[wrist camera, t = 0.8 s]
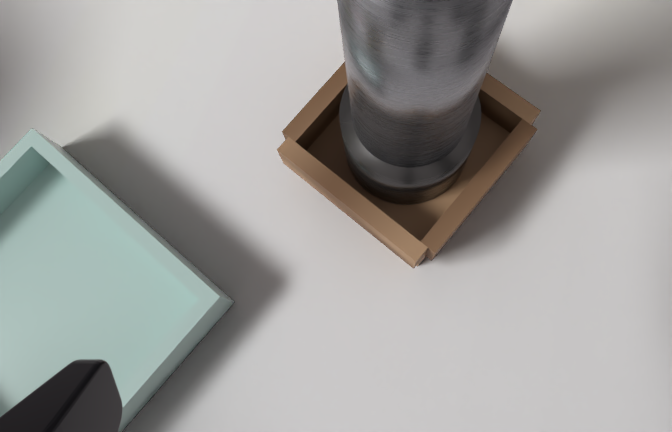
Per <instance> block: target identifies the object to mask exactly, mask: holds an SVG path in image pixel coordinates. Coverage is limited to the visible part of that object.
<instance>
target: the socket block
mask: <svg viewBox="0 0 672 432" xmlns="http://www.w3.org/2000/svg"><path fill="white" fill-rule="evenodd" d="M347 84H348V82H347V74H346V66H345V62H344V63H343V64H342V65H341V67H340V68H339V69H338V70H337V71H336V72H335V73H334V74H333V75H332V77H331V78H330V79H329V80H328V81H327V82H326V83H325V84H324V85H323V87H322V88H321V89H320V90H319V91H318V92H317V93H316V94H315V95H314V97H313V98H312V99H311V100H310V101H309V102H308V103H307V104H306V105H305V107H304V108H303V109H302V110H301V111H300V112H299V113H298V114H297V116H296V117H295V118H294V119H293V120H292V121H291V122H290V123H289V124H288V126H287V127H286V128H285V129H284V130H283V131H282V132H283V135H284V137H285V139H286V140H285V141H284V142H283V144H282V145H281V146H280V147H279V148H278V149H277V151H278V153H279V155H280V157H281V159H282V161H283V163H284V164H285V165H286V166H288V167H289V168H290V169H291V170H293V171H294V172H295V173H296V174H297V175H299V176H300V177H301V178H302V179H304V180H305V181H306V182H307V183H309V184H310V185H311V186H312V187H313V188H315V189H316V190H317V191H318V192H320V193H321V194H322V195H323V196H325V197H326V198H327V199H328V200H330V201H331V202H332V203H333V204H334V205H336V206H337V207H338V208H339V209H341V210H342V211H343V212H344V213H346V214H347V215H348V216H349V217H351V218H352V219H353V220H354V221H355V222H357V223H358V224H359V225H360V226H362V227H363V228H364V229H365V230H367V231H368V232H369V233H370V234H372V235H373V236H374V237H375V238H376V239H378V240H379V241H380V242H381V243H383V244H384V245H385V246H386V247H388V248H389V249H390V250H391V251H393V252H394V253H395V254H396V255H397V256H399V257H400V258H401V259H402V260H404V261H405V262H406V263H407V264H409V265H410V266H411V267H412V268H415V266H416V265H417V266H418V265H419V264H420V263H421V261H422V260H423V259H424V258H425V257H427V258H429V259H430V260H431V261H432V260H433V258H434V257H435V256H436V255H437V254H438V252H439V251H440V250H441V249H442V247H443V246H444V245H445V244H446V243H447V241H448V240H449V239H450V238H451V237H452V235H453V234H454V233H455V232H456V230H457V229H458V228H459V227H460V226H461V224H462V223H463V222H464V221H465V219H466V218H467V217H468V216H469V215H470V213H471V212H472V211H473V210H474V209H475V207H476V206H477V205H478V204H479V202H480V201H481V200H482V199H483V198H484V196H485V195H486V194H487V193H488V192H489V190H490V189H491V188H492V187H493V185H494V184H495V183H496V182H497V181H498V179H499V178H500V177H501V176H502V175H503V173H504V172H505V171H506V170H507V168H508V167H509V166H510V165H511V164H512V162H513V161H514V160H515V159H516V158H517V156H518V155H519V154H520V153H521V151H522V150H523V149H524V148H525V147H526V145H527V144H528V143H529V141H530V140H531V138H532V137H533V135H534V134H535V132H536V131H537V129H536V128H535V127H534V126H532V124H533V122H534V121H535V119H536V118H537V116H538V115H539V113H540V110H539V109H538V108H536V107H535V106H533V105H532V104H530V103H529V102H528V101H526V100H525V99H523V98H522V97H520V96H519V95H518V94H516V93H515V92H513V91H512V90H511V89H509V88H508V87H506V86H505V85H503V84H502V83H501V82H499V81H498V80H496V79H495V78H493V77H492V76H491V75H489V74H488V73H486V75H485V77H484V80H483V83H482V86H481V88H480V91H479V94H478V96H479V100H480V104H481V124H480V129H479V132H478V135H477V138H476V140H475V143H474V145H473V147H472V150H471V152H470V155H469V157H468V159H467V162H466V164H465V166H464V169H463V171H462V172H461V174H460V176H459V178H458V179H457V180H456V182H455V183H454V184H453V185H452V186H451V187H450V188H449V189H448V190H447V191H446V192H444V193H443V194H441V195H440V196H438V197H437V198H434V199H432V200H430V201H427V202H424V203H420V204H414V205H400V204H393V203H389V202H386V201H383V200H380V199H378V198H377V197H375V196H373V195H371V194H370V193H369V192H367V191H366V190H365V189H364V188H363V187H362V186H361V185H360V184H359V183H358V182H357V181H356V179H355V178H354V176H353V175H352V173H351V171H350V169H349V166H348V163H347V160H346V154H345V149H344V143H343V138H342V132H341V126H340V120H339V110H340V102H341V99H342V95H343V92H344V90H345V88H346V86H347Z"/></svg>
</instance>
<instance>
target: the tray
mask: <svg viewBox="0 0 672 432" xmlns="http://www.w3.org/2000/svg"><path fill="white" fill-rule="evenodd" d="M233 303H234V301H233V300H232V299H230V298H229V297H228V296H227V295H226V294H225V293H224V292H223V291H222V290H220V289H219V288H218V287H217V286H216V285H215V284H214V283H213V282H211V281H210V280H209V279H208V278H207V277H206V276H205V275H204V274H203V273H201V272H200V271H199V270H198V269H197V268H196V267H195V266H194V265H192V264H191V263H190V262H189V261H188V260H187V259H186V258H185V257H184V256H182V255H181V254H180V253H179V252H178V251H177V250H176V249H175V248H173V247H172V246H171V245H170V244H169V243H168V242H167V241H166V240H165V239H163V238H162V237H161V236H160V235H159V234H158V233H157V232H156V231H154V230H153V229H152V228H151V227H150V226H149V225H148V224H147V223H146V222H144V221H143V220H142V219H141V218H140V217H139V216H138V215H137V214H135V213H134V212H133V211H132V210H131V209H130V208H129V207H128V206H127V205H125V204H124V203H123V202H122V201H121V200H120V199H119V198H118V197H116V196H115V195H114V194H113V193H112V192H111V191H110V190H109V189H108V188H106V187H105V186H104V185H103V184H102V183H101V182H100V181H99V180H97V179H96V178H95V177H94V176H93V175H92V174H91V173H90V172H89V171H87V170H86V169H85V168H84V167H83V166H82V165H81V164H80V163H78V162H77V161H76V160H75V159H74V158H73V157H72V156H71V155H70V154H68V153H67V152H66V151H65V150H64V149H63V148H62V147H61V146H59V145H57V144H56V143H54V142H53V141H51V140H50V139H48V138H47V137H45V136H44V135H42V134H41V133H39V132H38V131H36V130H35V129H33V128H32V129H31V130H30V131H29V132H28V133H27V134H26V135H25V136H24V137H23V138H22V139H21V140H20V141H19V142H18V143H17V144H16V145H15V146H14V147H13V148H12V149H11V150H10V151H9V152H8V153H7V154H6V155H5V156H4V157H3V158H2V159H1V160H0V417H1V416H2V415H3V414H5V413H6V412H7V411H8V410H10V409H11V408H12V407H14V406H15V405H16V404H18V403H19V402H20V401H21V400H23V399H24V398H25V397H27V396H28V395H29V394H31V393H32V392H33V391H34V390H36V389H37V388H38V387H40V386H41V385H42V384H43V383H45V382H46V381H47V380H49V379H50V378H51V377H53V376H54V375H55V374H56V373H58V372H59V371H60V370H62V369H63V368H64V367H66V366H67V365H68V364H70V363H71V362H73V361H75V360H79V359H102V360H105V361H106V362H107V363H108V364H109V366H110V368H111V371H112V373H113V376H114V379H115V382H116V385H117V388H118V391H119V394H120V397H121V400H122V407H123V409H122V418H121V423H120V426H119V430H118V432H122V431H123V430H124V429H125V428H126V426H127V425H128V424H129V423H130V422H131V421H132V420H133V418H134V417H135V416H136V415H137V414H138V413H139V411H140V410H141V409H142V408H143V407H144V406H145V405H146V403H147V402H148V401H149V400H150V399H151V398H152V396H153V395H154V394H155V393H156V392H157V391H158V390H159V388H160V387H161V386H162V385H163V384H164V383H165V382H166V380H167V379H168V378H169V377H170V376H171V375H172V373H173V372H174V371H175V370H176V369H177V368H178V367H179V365H180V364H181V363H182V362H183V361H184V360H185V358H186V357H187V356H188V355H189V354H190V353H191V352H192V350H193V349H194V348H195V347H196V346H197V345H198V344H199V342H200V341H201V340H202V339H203V338H204V337H205V335H206V334H207V333H208V332H209V331H210V330H211V329H212V327H213V326H214V325H215V324H216V323H217V322H218V320H219V319H220V318H221V317H222V316H223V315H224V314H225V312H226V311H227V310H228V309H229V308H230V307H231V306H232V304H233Z"/></svg>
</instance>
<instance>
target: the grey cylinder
mask: <svg viewBox="0 0 672 432" xmlns="http://www.w3.org/2000/svg"><path fill="white" fill-rule="evenodd" d="M512 1H513V0H337V2H338V10H339V18H340V26H341V34H342V42H343V50H344V58H345V66H346V74H347V82H348V84H347V86H346V88H345V90H344V92H343V95H342V99H341V102H340V110H339V120H340V126H341V132H342V138H343V143H344V149H345V154H346V160H347V163H348V166H349V169H350V171H351V173H352V175H353V176H354V178H355V179H356V181H357V182H358V183H359V184H360V185H361V186H362V187H363V188H364V189H365V190H366V191H367V192H369V193H370V194H371V195H373V196H375V197H377V198H378V199H380V200H383V201H386V202H389V203H393V204H400V205H414V204H420V203H424V202H427V201H430V200H432V199H434V198H437V197H438V196H440V195H441V194H443V193H444V192H446V191H447V190H448V189H449V188H450V187H451V186H452V185H453V184H454V183H455V182H456V180H457V179H458V178H459V176H460V174H461V172H462V171H463V169H464V166H465V164H466V162H467V159H468V157H469V155H470V152H471V150H472V147H473V145H474V143H475V140H476V138H477V135H478V132H479V129H480V124H481V104H480V100H479V96H478V94H479V91H480V88H481V86H482V83H483V80H484V77H485V75H486V72H487V69H488V66H489V64H490V61H491V58H492V55H493V53H494V50H495V47H496V44H497V42H498V39H499V36H500V34H501V31H502V28H503V25H504V23H505V20H506V17H507V14H508V12H509V9H510V6H511V3H512Z"/></svg>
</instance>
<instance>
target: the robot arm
mask: <svg viewBox="0 0 672 432" xmlns="http://www.w3.org/2000/svg"><path fill="white" fill-rule="evenodd" d="M122 409H123V407H122V400H121V397H120V394H119V391H118V388H117V385H116V382H115V379H114V376H113V373H112V371H111V368H110V366H109V364H108V363H107V362H106V361H105V360H102V359H79V360H75V361H73V362H71V363H70V364H68V365H67V366H66V367H64V368H63V369H62V370H60V371H59V372H58V373H56V374H55V375H54V376H53V377H51V378H50V379H49V380H47V381H46V382H45V383H43V384H42V385H41V386H40V387H38V388H37V389H36V390H34V391H33V392H32V393H31V394H29V395H28V396H27V397H25V398H24V399H23V400H21V401H20V402H19V403H18V404H16V405H15V406H14V407H12V408H11V409H10V410H8V411H7V412H6V413H5V414H3V415H2V416H1V417H0V432H118V430H119V426H120V423H121V418H122Z"/></svg>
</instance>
